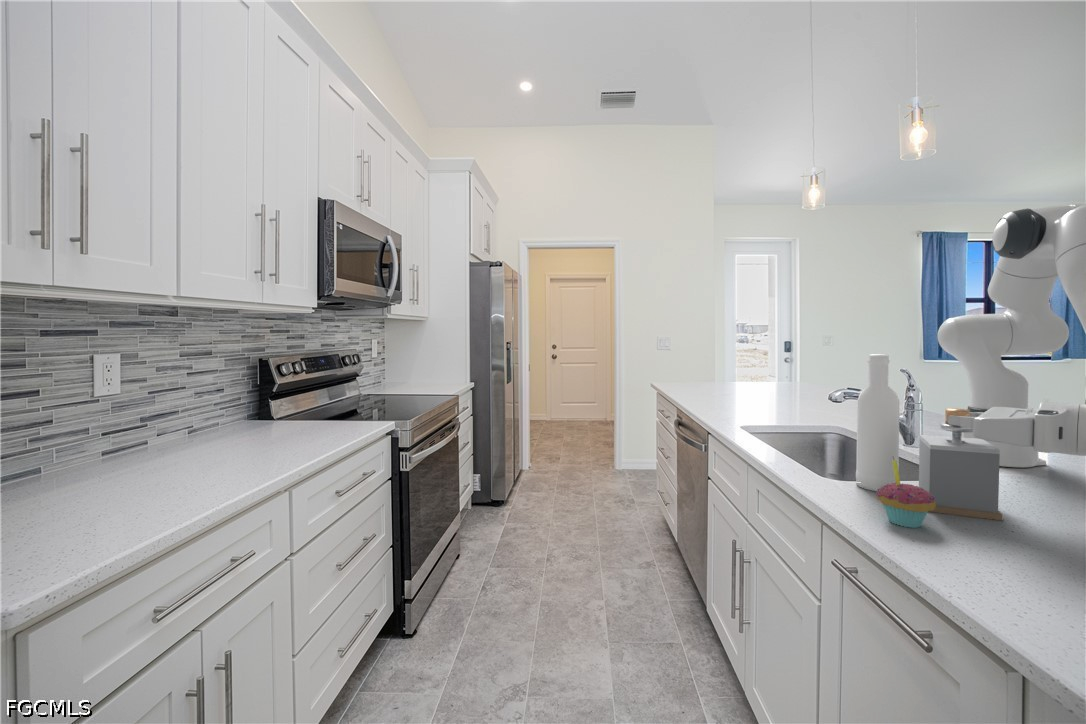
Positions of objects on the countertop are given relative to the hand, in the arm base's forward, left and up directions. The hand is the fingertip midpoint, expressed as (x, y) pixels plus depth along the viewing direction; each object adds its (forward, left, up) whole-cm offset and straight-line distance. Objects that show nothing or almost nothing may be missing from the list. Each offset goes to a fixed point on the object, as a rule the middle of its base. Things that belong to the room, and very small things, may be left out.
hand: (951, 417), depth 94 cm
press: (0, +1, -18) cm, 18 cm away
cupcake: (+14, -9, -18) cm, 25 cm away
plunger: (0, +1, -16) cm, 16 cm away
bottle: (-8, -11, -18) cm, 22 cm away
